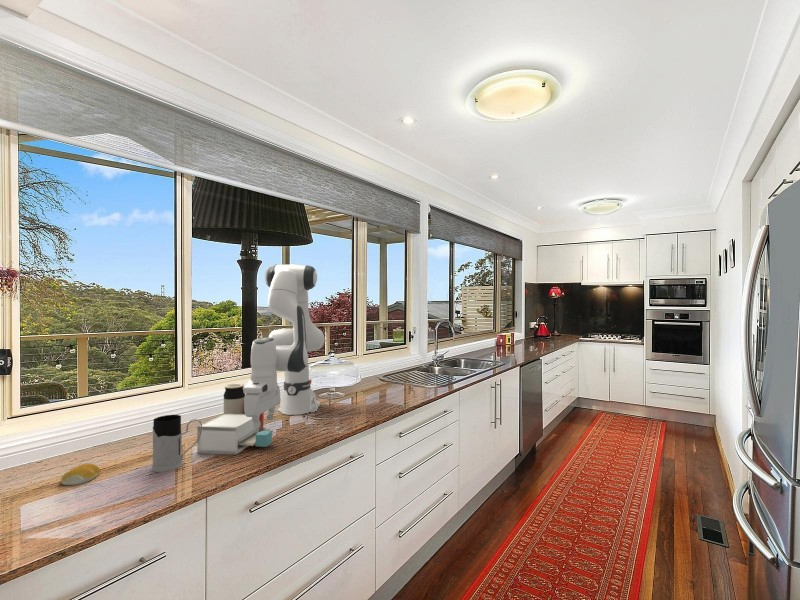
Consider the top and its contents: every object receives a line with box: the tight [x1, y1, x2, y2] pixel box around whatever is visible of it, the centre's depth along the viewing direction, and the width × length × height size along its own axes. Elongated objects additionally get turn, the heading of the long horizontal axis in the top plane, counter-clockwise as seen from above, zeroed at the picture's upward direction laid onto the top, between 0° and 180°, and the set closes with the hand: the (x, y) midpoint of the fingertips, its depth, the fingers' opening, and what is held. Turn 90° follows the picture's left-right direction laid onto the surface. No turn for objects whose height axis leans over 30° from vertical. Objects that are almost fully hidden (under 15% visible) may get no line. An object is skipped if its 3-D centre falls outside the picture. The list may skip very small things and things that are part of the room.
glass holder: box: [150, 414, 203, 473], centre depth 128 cm, size 9×14×15 cm, turn 111°
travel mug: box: [223, 383, 246, 414], centre depth 163 cm, size 8×8×18 cm
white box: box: [196, 413, 260, 456], centre depth 145 cm, size 16×15×9 cm
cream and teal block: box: [238, 430, 273, 448], centre depth 144 cm, size 8×20×4 cm, turn 82°
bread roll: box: [60, 463, 101, 486], centre depth 118 cm, size 8×9×4 cm
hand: (263, 423), depth 143 cm, fingers open, 8 cm apart
